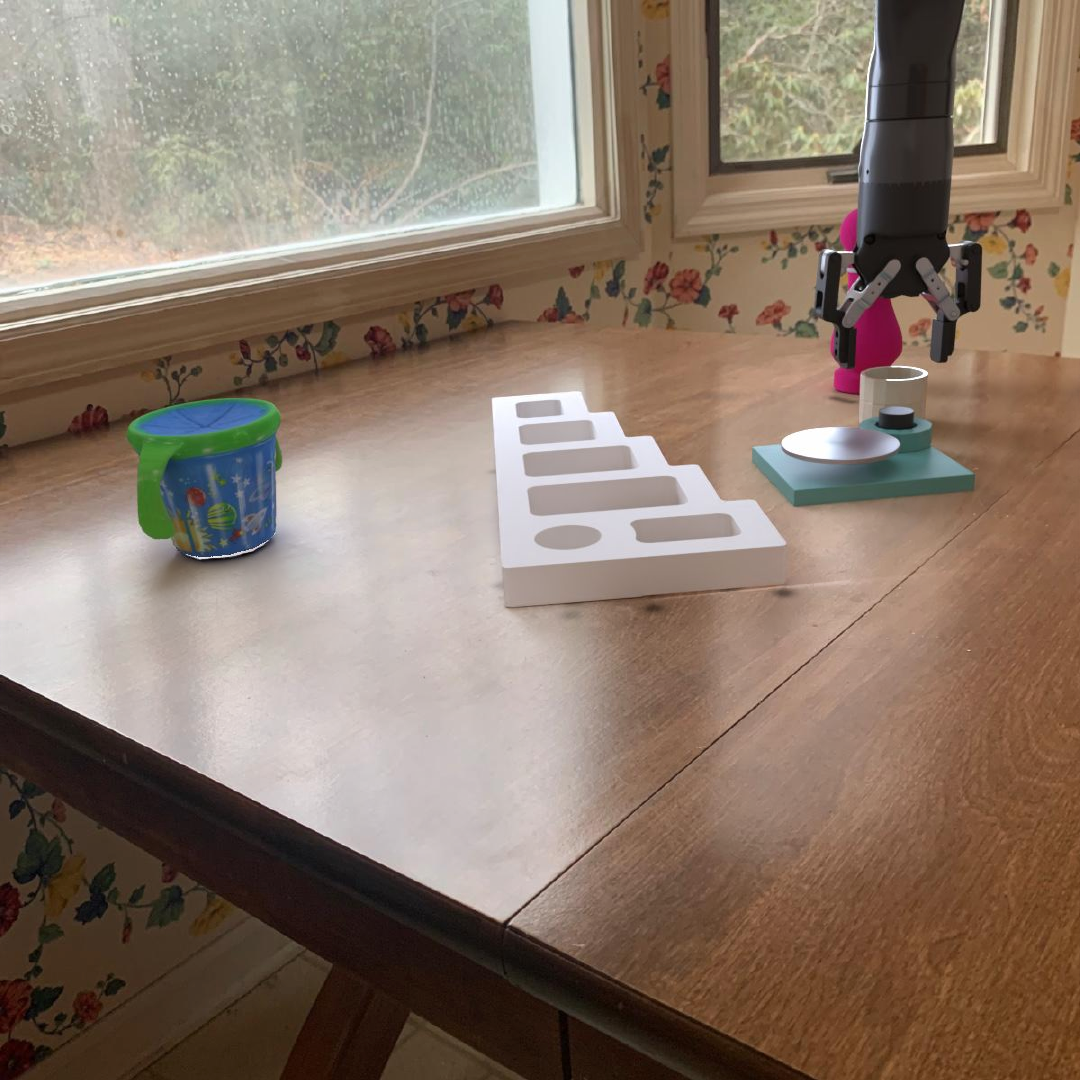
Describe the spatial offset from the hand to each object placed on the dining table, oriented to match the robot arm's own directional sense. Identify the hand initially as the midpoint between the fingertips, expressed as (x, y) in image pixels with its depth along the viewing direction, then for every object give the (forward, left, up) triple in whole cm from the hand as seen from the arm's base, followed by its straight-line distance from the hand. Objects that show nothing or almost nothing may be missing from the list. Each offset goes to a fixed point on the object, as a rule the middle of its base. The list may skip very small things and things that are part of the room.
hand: (892, 364), depth 98 cm
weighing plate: (+10, +14, -3) cm, 17 cm away
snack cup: (+58, +16, -6) cm, 60 cm away
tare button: (+3, +9, -3) cm, 10 cm away
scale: (+8, +13, -6) cm, 16 cm away
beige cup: (0, 0, -6) cm, 6 cm away
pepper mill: (-3, -15, -6) cm, 17 cm away
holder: (+28, +10, -6) cm, 30 cm away
